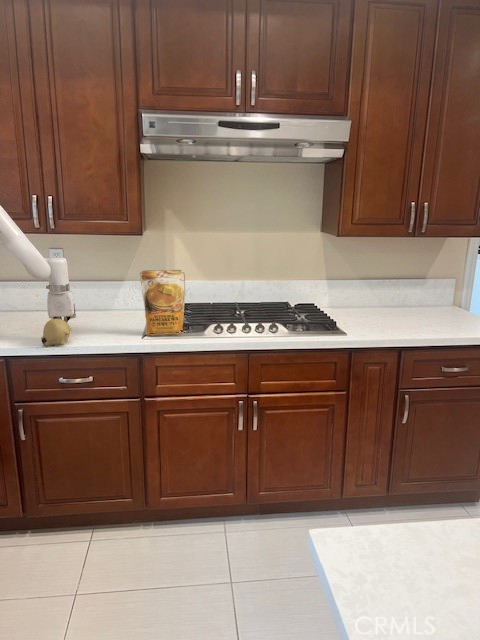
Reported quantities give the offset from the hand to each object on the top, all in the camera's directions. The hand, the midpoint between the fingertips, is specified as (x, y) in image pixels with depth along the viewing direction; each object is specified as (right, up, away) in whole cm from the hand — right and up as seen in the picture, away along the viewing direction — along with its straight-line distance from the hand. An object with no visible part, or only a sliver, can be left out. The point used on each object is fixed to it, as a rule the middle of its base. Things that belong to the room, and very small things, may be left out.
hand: (64, 331), depth 193 cm
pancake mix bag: (+40, -1, +11) cm, 41 cm away
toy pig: (-1, -5, -5) cm, 7 cm away
